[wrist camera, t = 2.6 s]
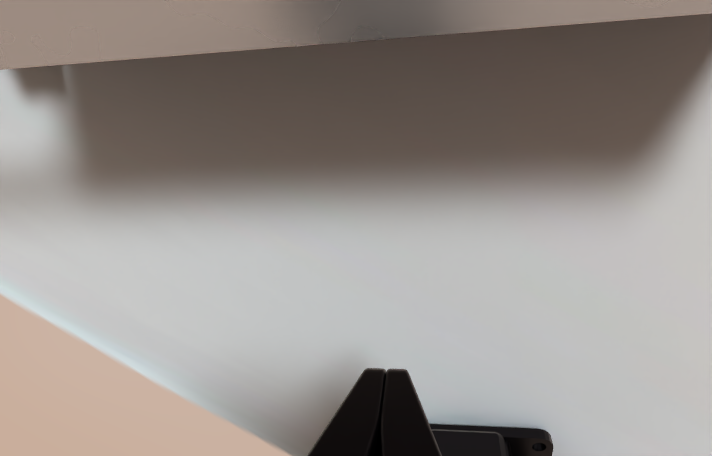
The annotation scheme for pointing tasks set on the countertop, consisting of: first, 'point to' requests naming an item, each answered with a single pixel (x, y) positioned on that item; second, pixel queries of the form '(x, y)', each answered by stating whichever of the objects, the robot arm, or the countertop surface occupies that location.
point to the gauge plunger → (275, 23)
